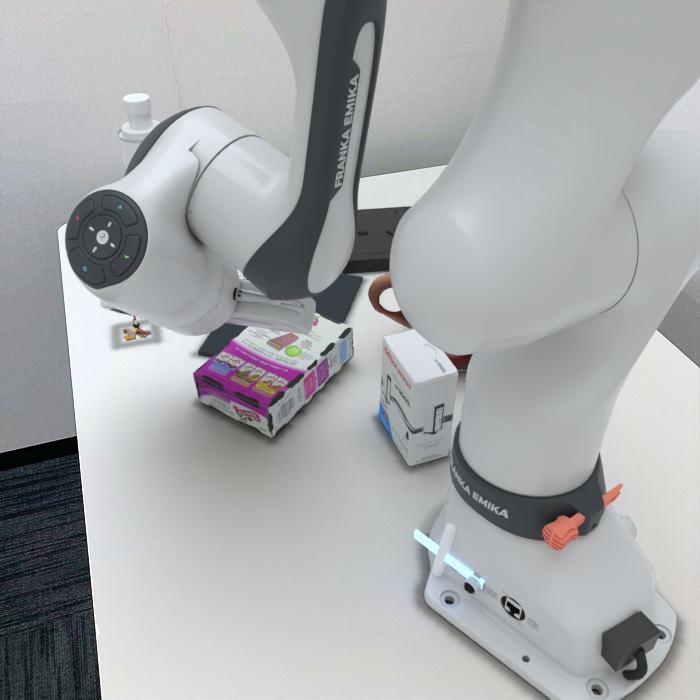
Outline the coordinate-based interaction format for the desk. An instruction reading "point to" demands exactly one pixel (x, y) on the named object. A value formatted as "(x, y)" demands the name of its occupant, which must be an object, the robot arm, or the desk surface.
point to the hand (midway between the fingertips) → (238, 314)
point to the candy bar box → (273, 372)
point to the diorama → (135, 331)
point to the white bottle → (135, 124)
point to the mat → (327, 304)
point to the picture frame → (374, 239)
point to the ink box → (417, 396)
